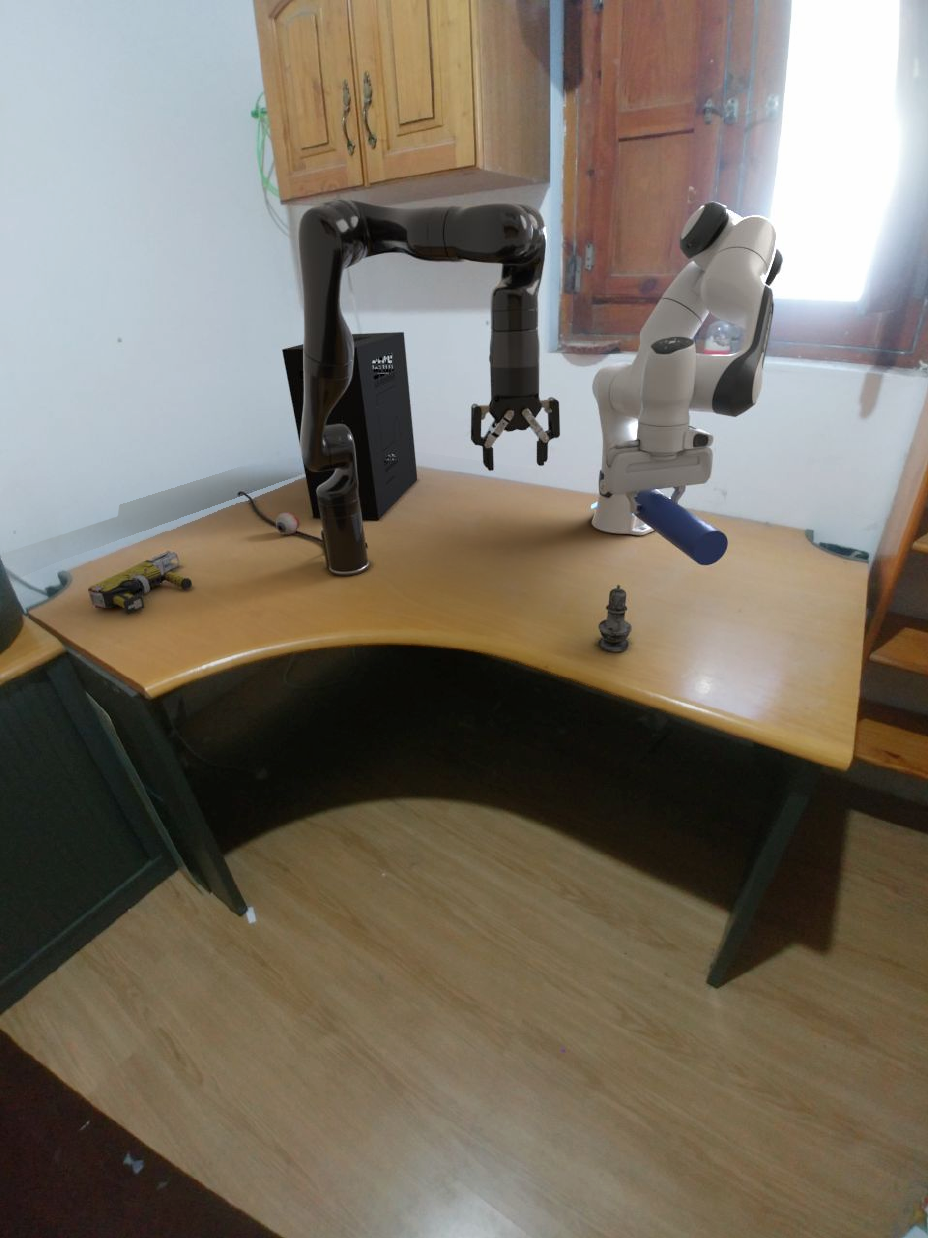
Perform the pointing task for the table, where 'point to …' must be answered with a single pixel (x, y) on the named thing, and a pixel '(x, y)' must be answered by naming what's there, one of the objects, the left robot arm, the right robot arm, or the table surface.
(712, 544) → the rod
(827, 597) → the table surface
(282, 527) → the eyeball
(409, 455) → the cardboard box
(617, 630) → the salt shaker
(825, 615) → the table surface
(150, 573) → the toy gun
